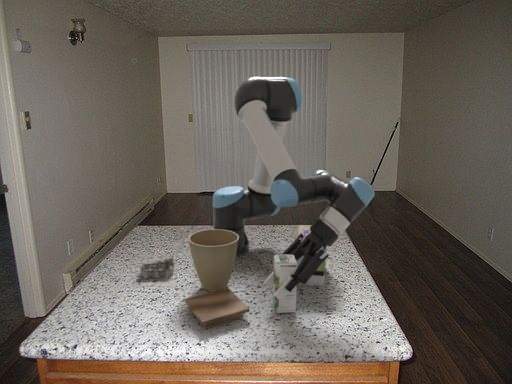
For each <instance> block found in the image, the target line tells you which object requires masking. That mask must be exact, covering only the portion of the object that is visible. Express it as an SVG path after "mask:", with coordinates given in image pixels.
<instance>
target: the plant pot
mask: <svg viewBox="0 0 512 384" xmlns="http://www.w3.org/2000/svg"><path fill="white" fill-rule="evenodd" d="M238 240H239V236H238V235H237V234H236V233H234V232H232V231H228V230H221V229H214V228H212V229H211V228H210V229H203V230H198V231H196V232H193V233H191V234H190V235H189V237H188V243H189V244H188V245H189V248H190V249H189V250H190V254H191V259H192V262H193V266H194V269H195V272H196V275H197V278H198V280H199V283H200V284H201V287H202V289H204V290H206V292H207V291H208V292H214V291H218V290H222V289H226V288H227V286H228V284H229V281H230V278H231V275H232V271H233V269H234V265H235V261H236V258H237V257H236V256H237V255H236V253H237V247H238Z"/></svg>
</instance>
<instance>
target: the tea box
mask: <svg viewBox="0 0 512 384" xmlns="http://www.w3.org/2000/svg"><path fill="white" fill-rule="evenodd" d="M311 226H312V225H305V224H304V225H302V224H299V225H298V227H297V230H296V234H295V237H294V241H295V240H296V239H297V237H298V236H299V234H301V233H302V234H303V235H304V236H307V235H308V234H310V233H311V230H310V227H311ZM294 241H293V242H294ZM327 251H328V245H327V246H326V248H325V252H326V253H327ZM327 254H328V253H327ZM303 257H304V256H302V257H301V258H299V259H298V260H297V268H298V266H299V264H300V262H301V261H302V259H303ZM326 265H327V259H325V260H324V261H323V262H322V263H321V265H320V266H319V267H318V268H317V270H316V271H315V272H314V274H313V275H312V276H311V277H310V279H309V280H308V281H307V283H306V284H303V283H298V284H297V285H306V286H307V285H308V286H318V287H324V284H325V279H326V278H325V277H326V267H327V266H326Z"/></svg>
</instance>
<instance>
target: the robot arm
mask: <svg viewBox="0 0 512 384" xmlns="http://www.w3.org/2000/svg"><path fill="white" fill-rule="evenodd" d="M233 101H234V103H233V105H234V110H235V114H236V116H237V118H238V121H240V122H241V123H243V124H244V125H245V126H246V129H247V131H248V133H249V135H250V137H251V140H252V141H253V144H254V145H255V148H256V149H257V151H256V156H255V157H256V159H255V164H254V169H253V177H252V179H250V180H249V181H248V184H247V188H246V189H244V187H242V186H238V185H237V186H236V185H233V186H225V187H222V188H219V189H217V190H216V191H214V193H213V195H212V204H211V205H212V214H213V215H212V217H213V218H212V220H213V229H221V230H228V231H232V232H234V233H236V234H237V235H238V236H239V240H238V247H237V253H236V256H238V255H242V254H245V253H247V252H248V251H249V250H250V241H249V238H248V235H247V233H246V230H245V221H248V220H254V219H260V218H268V217H271V216H275V215H276V214H278V213H279V212H280V210H281V208H289V207H290V208H291V207H295V206H299V205H306V204H314V203H321V202H328V203H330V204H329V205H328V206H327V208H326V209H325V210H323V212H322V213H321V214H320V215H319V218H318V219H316V220H315V221H314V222H313V223H312V224H311V225H310V226H311V227H310V230H311V233H310V234H308V235H307V236H304V235H303V234H302V233H301V234H299V236H298V237H297V239H296V240H295V239H294V240H295V241H293V242H292V243H291V244H290V245H289V246H288V247H287V248H286V249H285V250H284V251H283V252H282V253H281V254H288V255H294V256H295V258H296V261H297V260H298V259H299V258H301V257H302V256H304V257H303V259H302V261H301V262H300V264H299V266H298V268H297V269H296V271H295V273H294V275H292V274H291V276H289V277H288V279H287V280H286V281H285V282H284V283H283V284H282V285H281V287H280V288H279V289H278V290H277V291H276V292H275V293H274V296H275V297H276V298H278V299H279V300H280V301H282V300H283V299H284V298H285V297H286V296H287V294H288V293H289V292H291V291H292V290H293V289H294V287H295V286H296V285H299V284H298V283H303V284H302V285H305V284H306V283H307V281H308V280H309V279H310V277H311V276H312V275H313V274H314V272H315V271H316V270H317V268H318V267H319V266H320V265H321V263H322V262H323V261H324V260H325V259H326V260H327V259H328V258H329V254H328V253H326V252H325V248H326V246H327V247H332V246H333V245H334V244H335V243H336V241H337V240H338V239H339V235H342V234H343V233H344V232H345V230H347V229H348V227H349V226H350V225H351V224H352V223H353V222H354V220H355V219H356V218H357V217H358V216H359V215H360V214H361V213H362V211H364V209H365V208H366V207H368V205H369V203H370V202H371V201H372V199H374V197H375V194H376V193H375V190H374V189H373V187H372V186H371V185H370V184H369V183H368V182H366V180H364V179H362V178H360V177H356V176H355V177H353V178H352V179H351V180H349V181H346V180H345V179H343V178H341V177H339V176H337V175H335V174H333V172H330V171H327V170H324V169H319V170H316V172H314V173H312V174H311V175H310V176H304V177H303V176H301V174H300V173H299V171H298V170H297V168H296V166H295V164H294V162H293V160H292V158H291V157H290V154H289V152H288V151H287V148H286V147H285V145H284V137H285V132H286V127H287V124H289V122H291V121H292V118H293V114H295V113H297V112H298V111H299V110H300V109H301V107H302V104H303V93H302V90H301V87H300V85H299V83H298V81H296V80H295V79H293V78H291V77H284V76H276V77H275V76H274V77H273V76H271V77H270V76H252V77H250V78H247V79H245V80H244V81H242V82H241V83H240V84H239V86H238V88H237V89H236V91H235V95H234V100H233ZM273 272H274V270H273V271H272V272H271V273H270V274H269V276H268V277H267V278H266V279H265V280H264V281H263V284H265V286H267V287H269V288H270V289H273Z"/></svg>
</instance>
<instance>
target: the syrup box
mask: <svg viewBox="0 0 512 384" xmlns="http://www.w3.org/2000/svg"><path fill="white" fill-rule="evenodd" d="M296 269H297V261H296V258H295V256H294V255H288V254H282V253H281V254H275V255H273V271H274V272H273V271H272V272H273V287H272V306H273V311H274V313H275V314H289V313H296V312H297V285H298V284H297V285H296V286H295V287H294V289H293V290H292V291H291V292H289V293H288V294H287V296H286V297H285V298H284V299H283V300H282V301H280V300H279V299H278V298H276V297H275V296H274V293H275V292H276V291H277V290H278V289H279V288H280V287H281V285H282V284H283V283H284V282H285V281H286V280H287V279H288V277H289V276H291V274H292V275H294V273H295V271H296Z"/></svg>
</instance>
